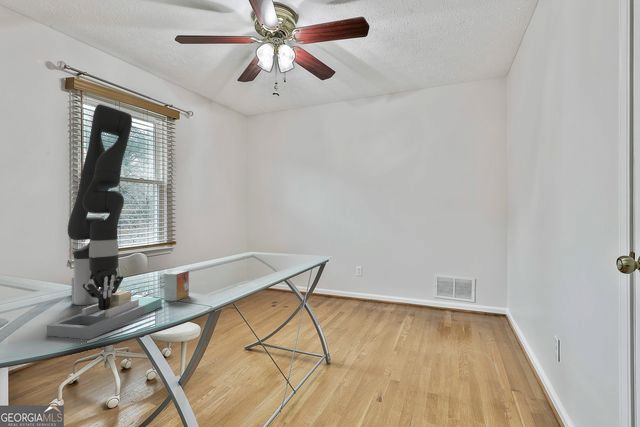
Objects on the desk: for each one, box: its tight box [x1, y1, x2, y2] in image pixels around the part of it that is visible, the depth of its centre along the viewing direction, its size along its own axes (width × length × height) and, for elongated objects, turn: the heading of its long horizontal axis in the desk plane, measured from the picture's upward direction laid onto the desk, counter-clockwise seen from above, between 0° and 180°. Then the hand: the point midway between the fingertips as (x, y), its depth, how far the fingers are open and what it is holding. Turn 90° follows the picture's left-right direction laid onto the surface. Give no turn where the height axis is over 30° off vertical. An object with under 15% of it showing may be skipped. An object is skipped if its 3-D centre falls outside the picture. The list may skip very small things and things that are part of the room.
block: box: [107, 289, 132, 310], centre depth 101 cm, size 5×5×5 cm
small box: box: [163, 269, 190, 302], centre depth 122 cm, size 8×6×10 cm
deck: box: [46, 296, 163, 340], centre depth 98 cm, size 14×29×5 cm, turn 171°
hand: (104, 309), depth 96 cm, fingers closed
